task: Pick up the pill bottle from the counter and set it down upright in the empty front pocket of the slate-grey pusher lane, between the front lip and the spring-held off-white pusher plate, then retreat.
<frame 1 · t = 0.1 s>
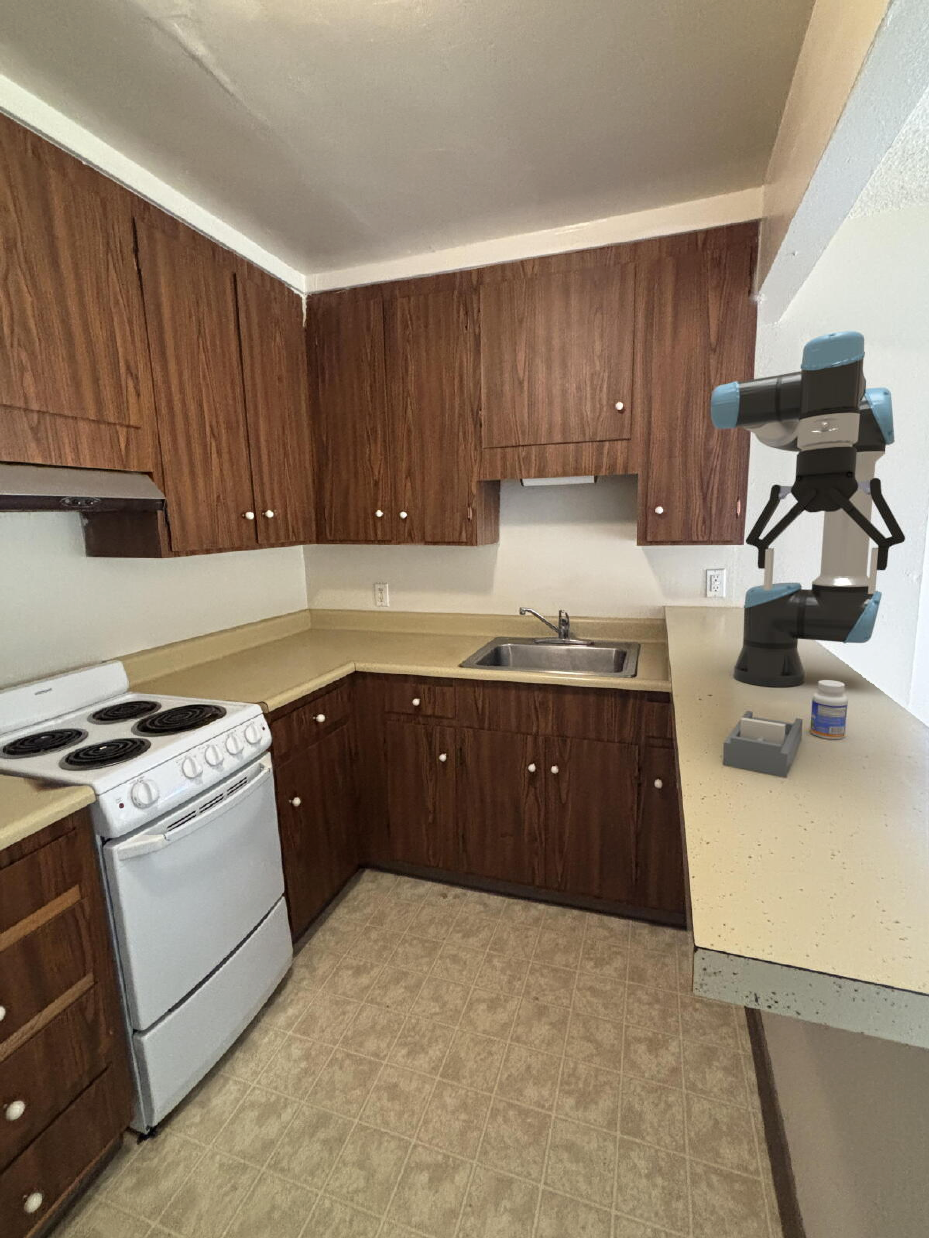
hand: (817, 591, 87), 28 cm above the worktop, fingers open, 13 cm apart
pill bottle: (827, 735, 102), on the worktop
pusher: (760, 739, 92), point 4 cm above the worktop, slide at 0.0 cm
lane: (763, 751, 96), on the worktop
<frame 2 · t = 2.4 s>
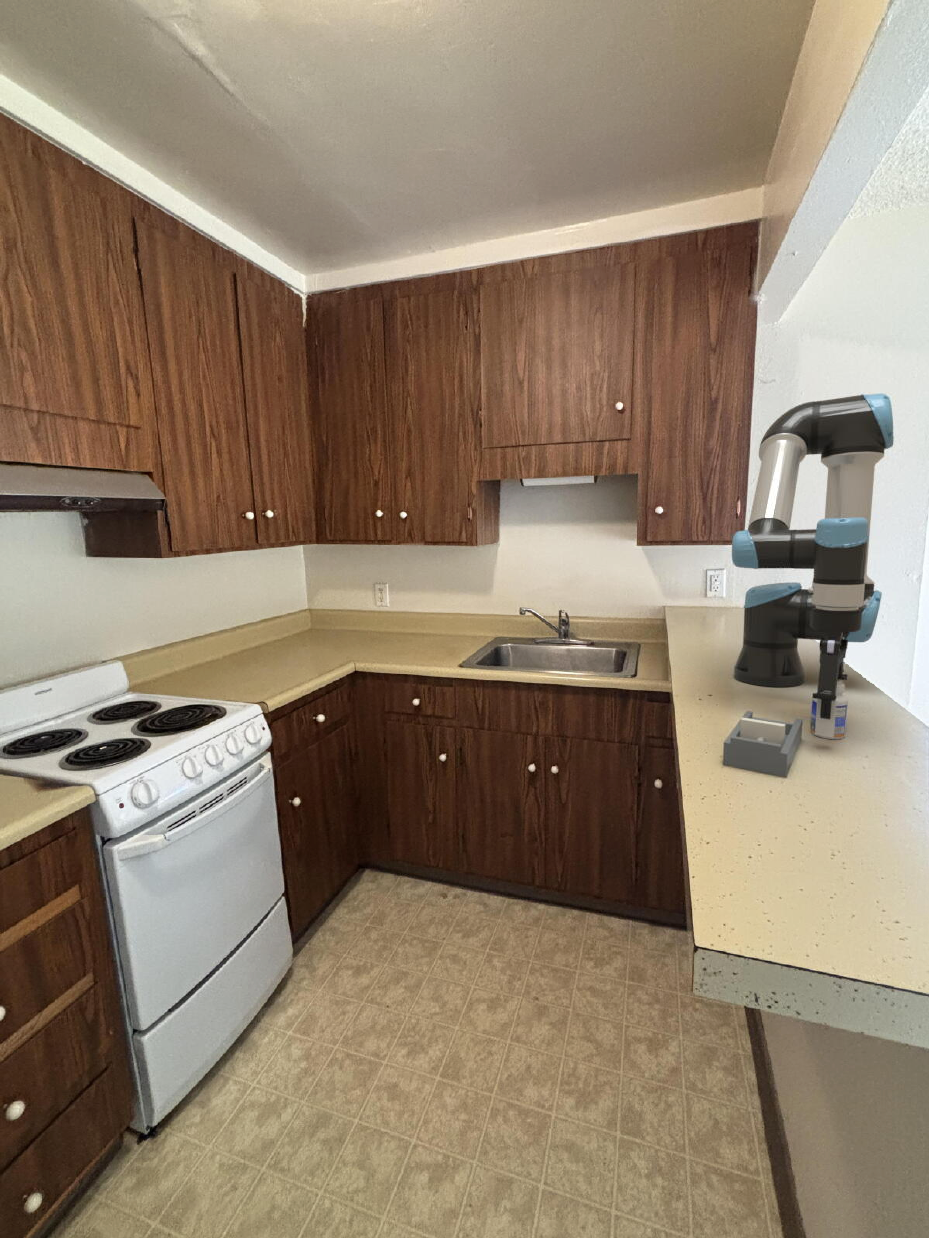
hand: (828, 724, 101), 2 cm above the worktop, fingers open, 13 cm apart
nothing on the worktop moved.
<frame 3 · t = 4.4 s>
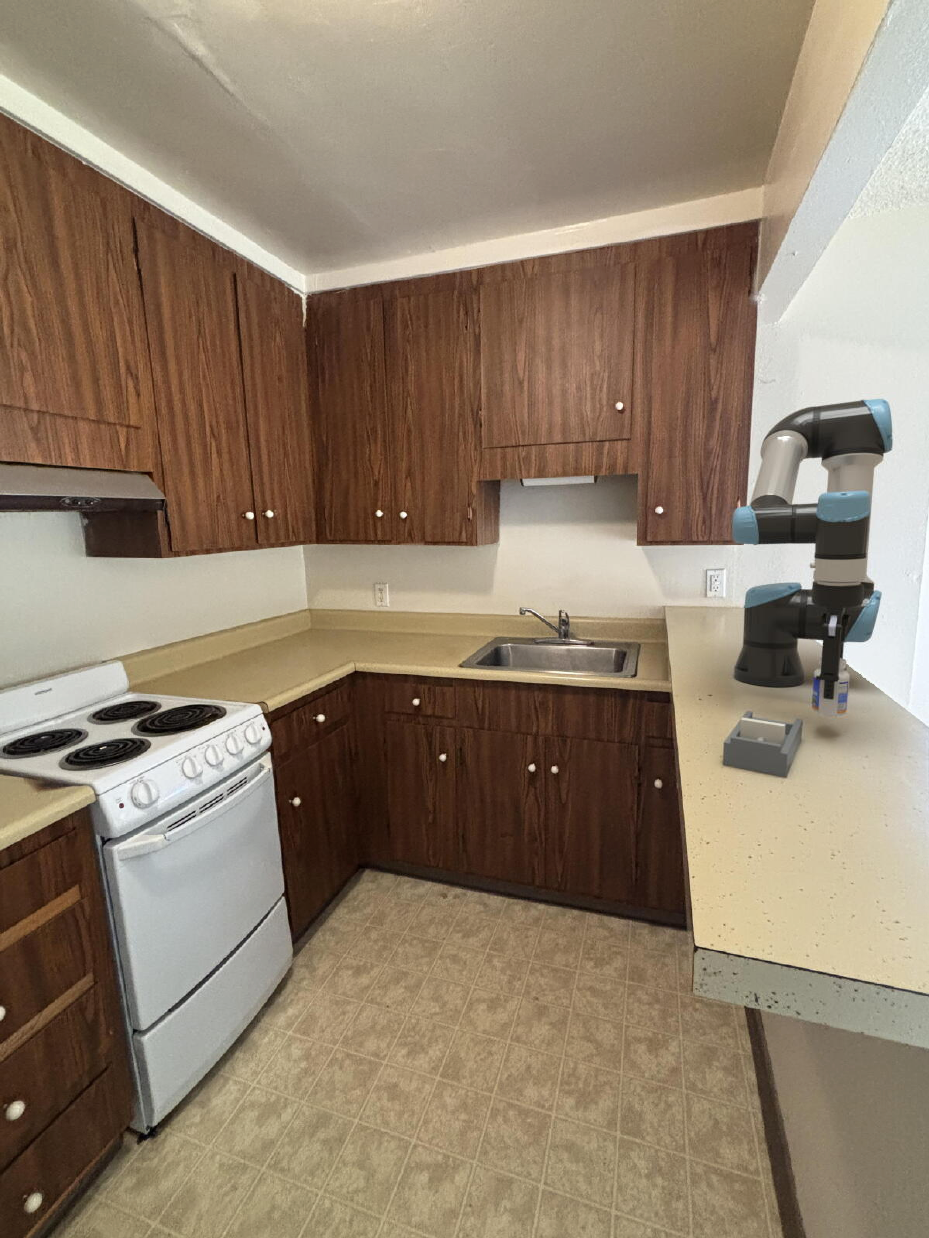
hand: (829, 709, 102), 5 cm above the worktop, fingers closed on pill bottle, 5 cm apart
pill bottle: (828, 712, 102), point 4 cm above the worktop, touching gripper
everything else where it was.
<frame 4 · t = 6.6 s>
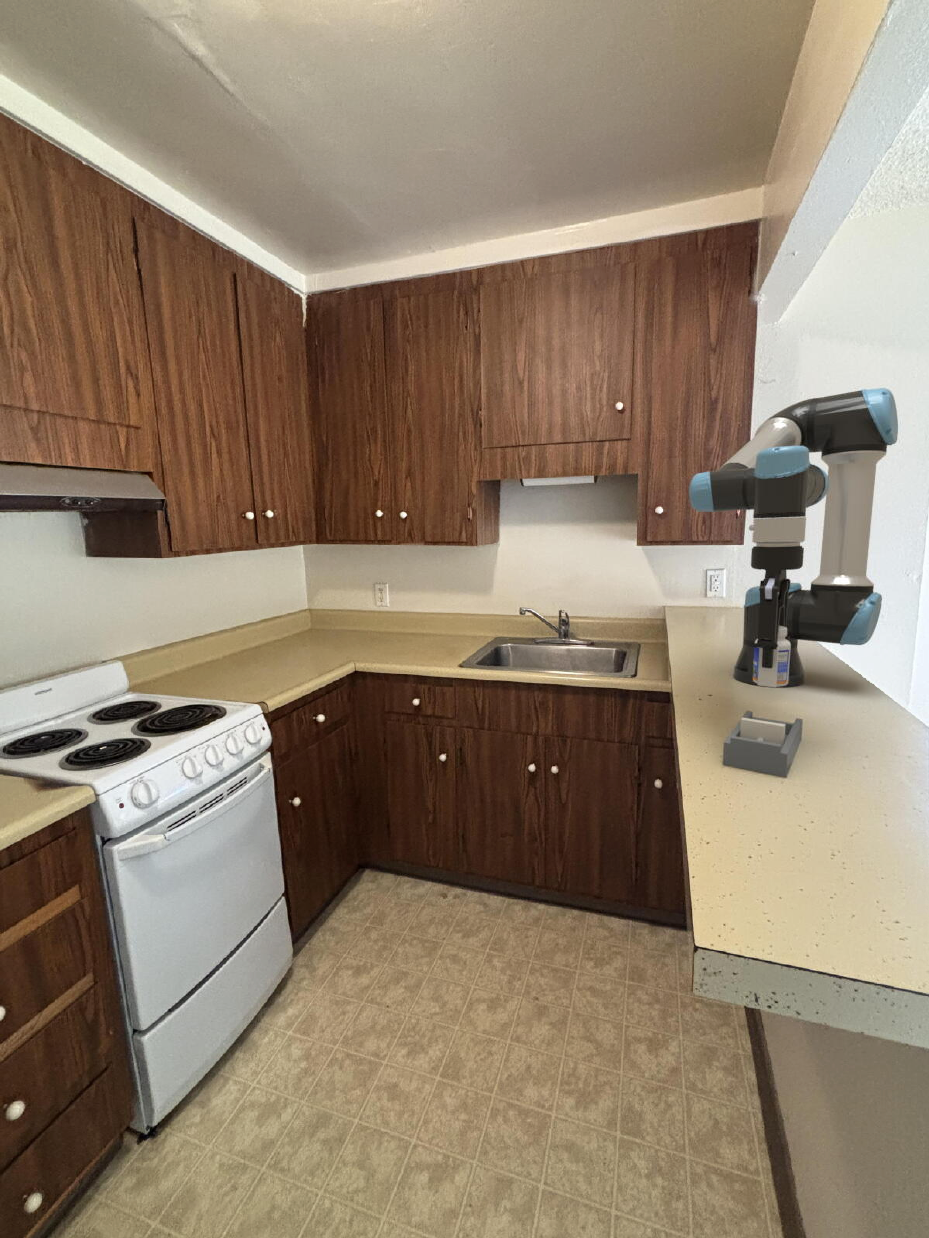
hand: (770, 681, 96), 12 cm above the worktop, fingers closed on pill bottle, 5 cm apart
pill bottle: (770, 683, 96), point 11 cm above the worktop, touching gripper
everything else where it was.
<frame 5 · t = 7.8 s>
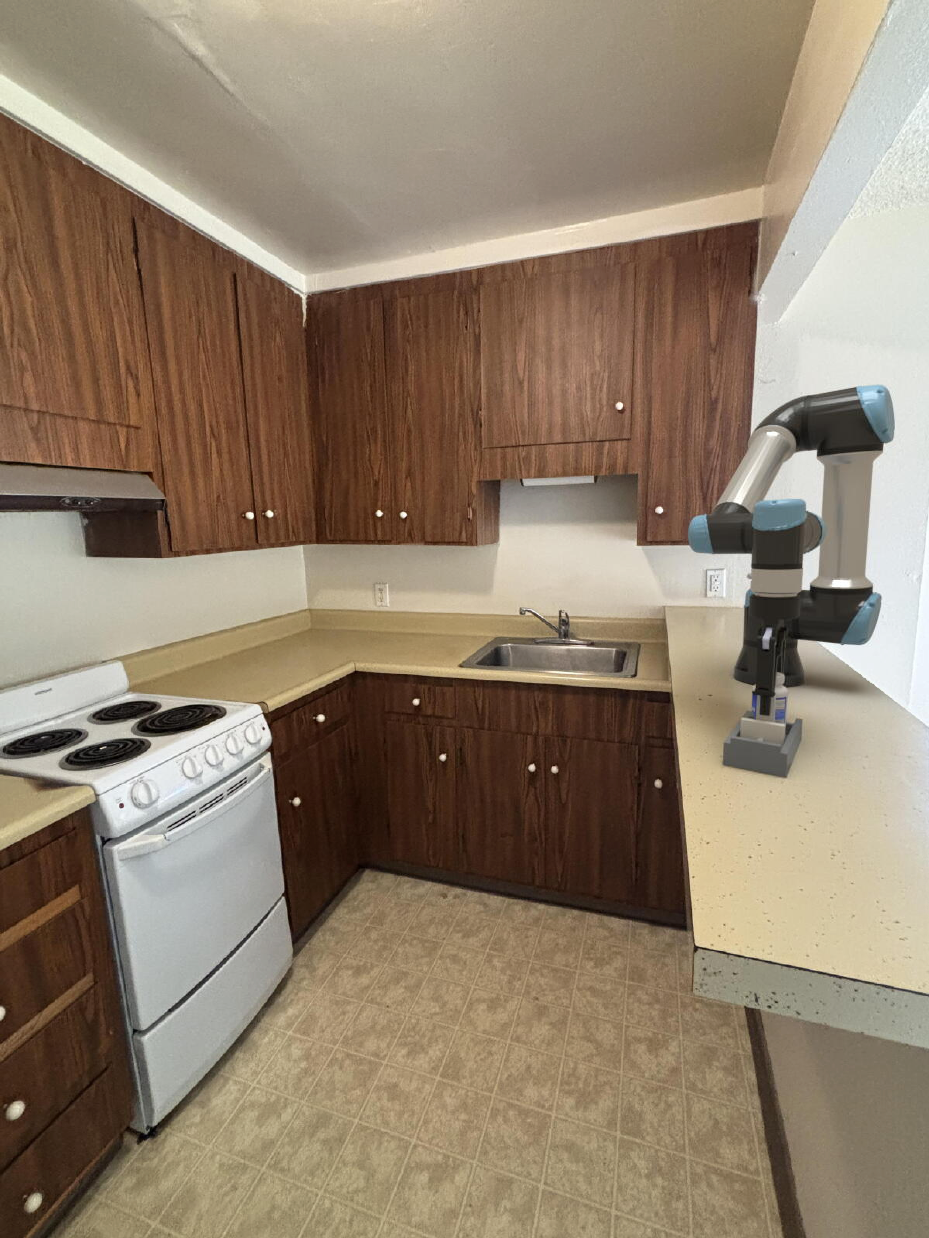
hand: (767, 726, 98), 4 cm above the worktop, fingers closed on pill bottle, 5 cm apart
pill bottle: (767, 729, 98), point 3 cm above the worktop, touching gripper
everything else where it was.
when the fingers open (2 cm above the worktop, at t = 8.9 s): pill bottle stays where it is, resting on lane.
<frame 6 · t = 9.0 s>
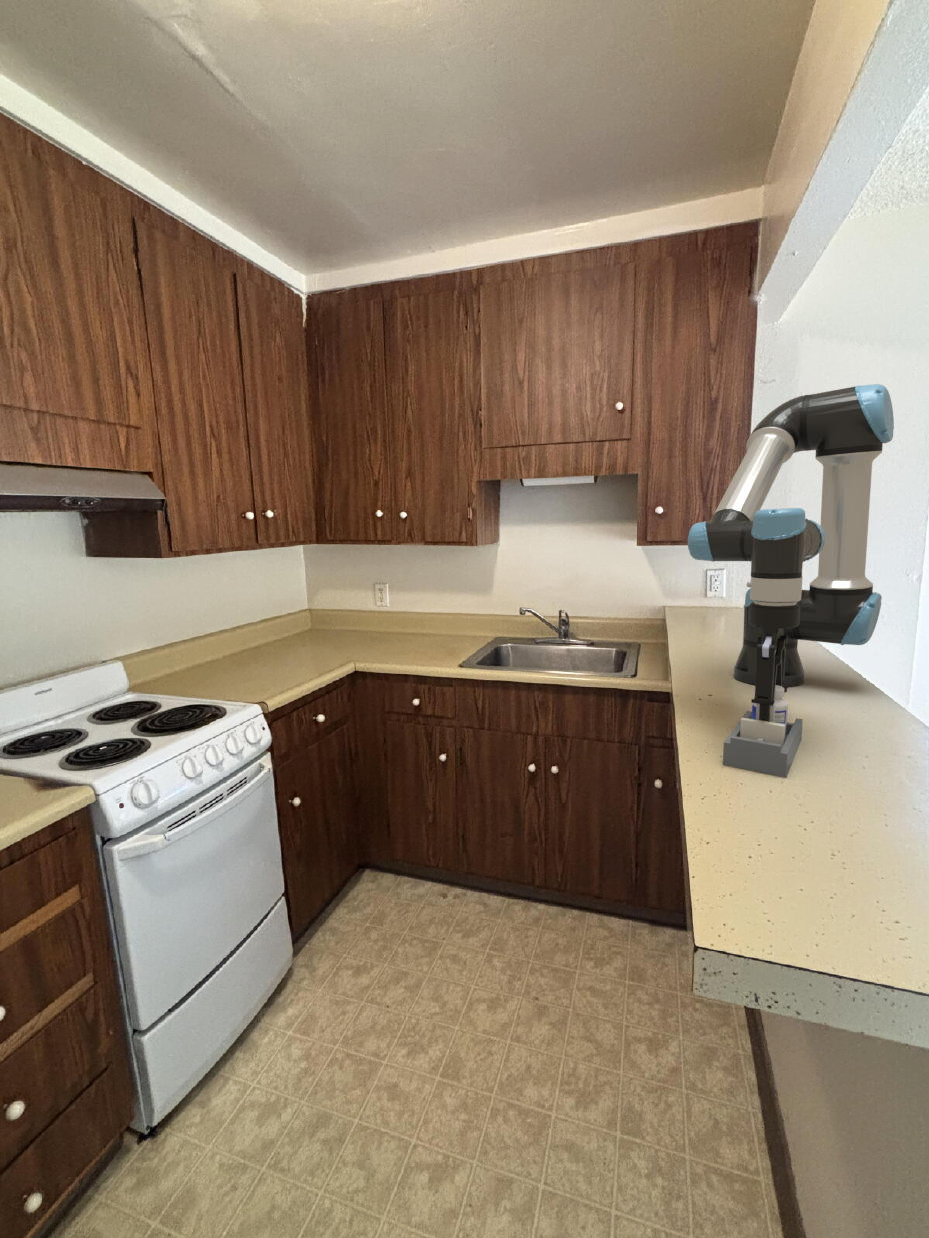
hand: (767, 733, 98), 2 cm above the worktop, fingers open, 6 cm apart
pill bottle: (767, 741, 98), point 1 cm above the worktop, touching lane
pusher: (760, 739, 92), point 4 cm above the worktop, slide at 0.1 cm, touching gripper
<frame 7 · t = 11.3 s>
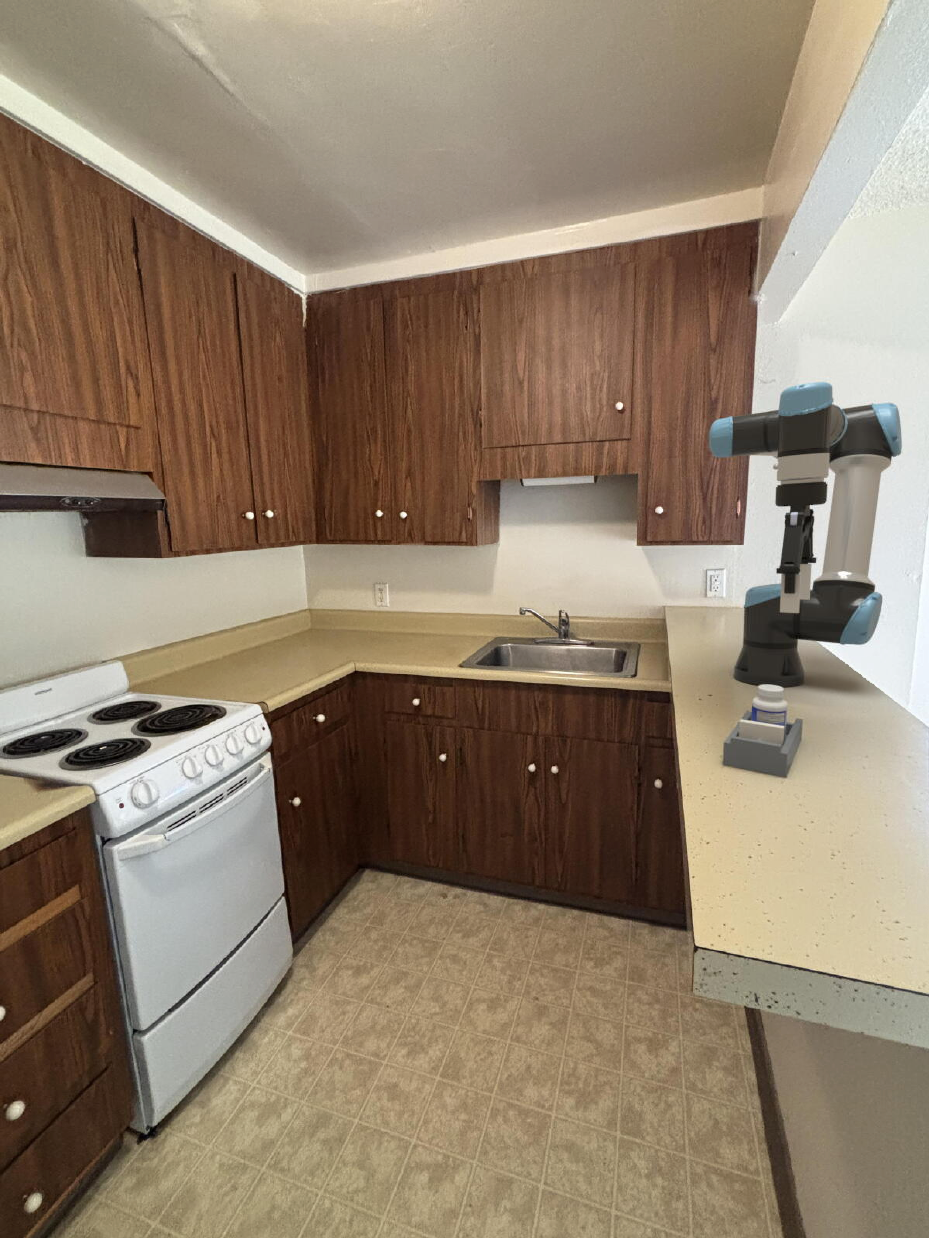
hand: (795, 605, 99), 24 cm above the worktop, fingers open, 13 cm apart
pusher: (758, 741, 91), point 4 cm above the worktop, slide at 1.0 cm
everything else where it was.
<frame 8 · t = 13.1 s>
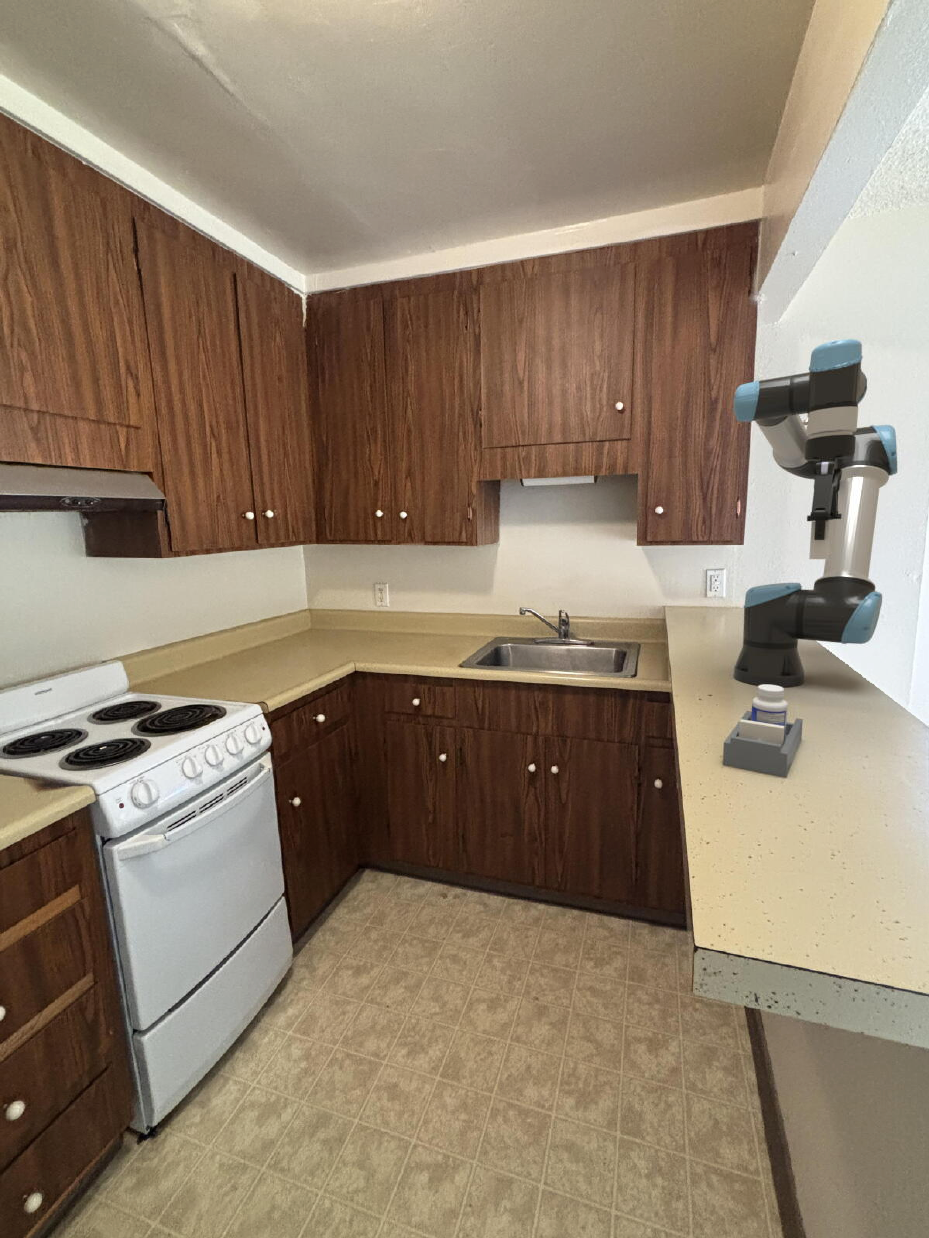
hand: (822, 556, 103), 32 cm above the worktop, fingers open, 13 cm apart
nothing on the worktop moved.
at the end: pill bottle inside the target area on the lane (0.1 cm from its centre), point 0.6 cm above the lane's base; pill bottle tilted 0°; the gripper is holding nothing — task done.
